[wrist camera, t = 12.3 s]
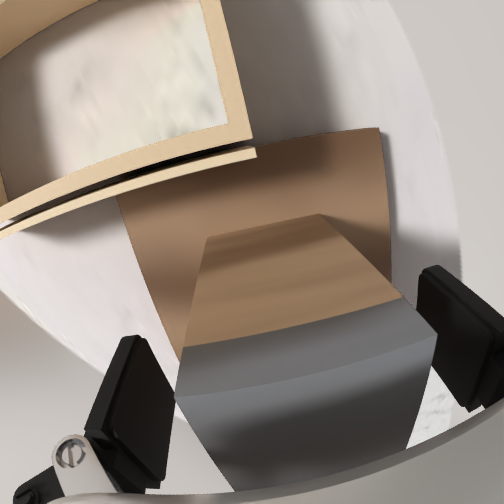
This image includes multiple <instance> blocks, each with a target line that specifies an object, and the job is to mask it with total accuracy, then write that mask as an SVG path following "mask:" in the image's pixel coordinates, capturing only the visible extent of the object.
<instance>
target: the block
mask: <svg viewBox="0 0 504 504" xmlns="http://www.w3.org/2000/svg"><path fill="white" fill-rule="evenodd" d="M437 335H438V334H437V333H436V332H435V331H434V329H433V328H432V327H431V326H430V325H429V324H428V323H427V322H426V321H425V319H424V318H423V317H422V316H421V315H420V314H419V313H418V312H417V311H416V310H415V309H414V307H413V306H412V305H411V304H410V303H409V302H408V301H407V300H406V299H405V298H404V297H403V296H402V295H401V294H400V293H399V292H398V291H397V289H396V288H395V287H394V286H393V285H392V284H391V283H390V282H389V281H388V280H387V279H386V278H385V277H384V276H383V275H382V274H381V273H380V272H379V271H378V270H377V269H376V268H375V267H374V266H373V265H372V264H371V263H370V262H369V261H368V260H367V259H366V258H365V257H364V256H363V255H362V254H361V253H360V252H359V251H358V250H357V249H356V248H355V247H354V246H353V245H352V244H351V243H350V242H348V241H347V240H346V239H345V238H344V237H343V236H342V235H341V234H340V233H339V232H338V231H337V230H336V229H335V228H334V227H333V226H332V225H330V224H329V223H328V222H327V221H326V220H325V219H324V218H323V217H322V216H321V215H320V214H314V215H309V216H304V217H299V218H294V219H289V220H285V221H280V222H275V223H270V224H266V225H261V226H256V227H251V228H247V229H242V230H238V231H233V232H228V233H224V234H219V235H215V236H210V237H207V239H206V243H205V248H204V252H203V256H202V260H201V265H200V269H199V274H198V278H197V282H196V287H195V292H194V296H193V301H192V306H191V310H190V315H189V320H188V325H187V330H186V335H185V340H184V345H183V350H182V355H181V360H180V366H179V371H178V376H177V382H176V388H175V393H174V399H175V401H176V402H177V404H178V406H179V407H180V409H181V411H182V413H183V414H184V416H185V418H186V419H187V421H188V423H189V424H190V426H191V427H192V429H193V431H194V432H195V434H196V435H197V437H198V439H199V440H200V442H201V443H202V445H203V446H204V448H205V450H206V451H207V453H208V454H209V456H210V457H211V459H212V460H213V461H214V463H215V464H216V466H217V467H218V469H219V470H220V472H221V473H222V474H223V476H224V477H225V479H226V480H227V481H228V483H229V484H230V485H231V487H232V488H233V489H234V491H235V492H239V491H248V490H256V489H263V488H270V487H276V486H282V485H287V484H292V483H297V482H302V481H307V480H311V479H316V478H320V477H324V476H328V475H332V474H335V473H339V472H342V471H346V470H349V469H353V468H356V467H359V466H362V465H365V464H368V463H371V462H374V461H377V460H380V459H382V458H385V457H388V456H390V455H393V454H396V453H398V452H401V451H403V450H405V449H406V447H407V444H408V441H409V439H410V436H411V433H412V430H413V427H414V424H415V421H416V418H417V415H418V412H419V409H420V405H421V402H422V399H423V395H424V391H425V388H426V384H427V380H428V376H429V372H430V368H431V364H432V359H433V355H434V350H435V345H436V340H437Z"/></svg>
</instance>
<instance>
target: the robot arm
mask: <svg viewBox="0 0 504 504" xmlns="http://www.w3.org/2000/svg"><path fill="white" fill-rule="evenodd" d="M416 311H417V312H418V313H419V314H420V315H421V316H422V317H423V318H424V319H425V321H426V322H427V323H428V324H429V325H430V326H431V327H432V328H433V329H434V331H435V332H436V333H437V334H438V335H437V340H436V345H435V350H434V355H433V359H432V364H431V365H432V367H433V368H434V370H435V371H436V372H437V374H438V375H439V376H440V378H441V379H442V381H443V382H444V383H445V385H446V386H447V388H448V389H449V391H450V392H451V393H452V395H453V396H454V398H455V399H456V401H457V402H458V403H459V405H460V406H461V407H465V408H466V409H467V411H468V412H469V413H470V412H471V411H473V410H475V409H477V408H478V407H480V406H481V404H482V405H483V407H484V408H485V410H483V411H482V412H480V413H478V414H476V415H475V416H473V417H471V418H469V419H468V420H466V421H464V422H462V423H460V424H458V425H457V426H455V427H453V428H451V429H449V430H447V431H445V432H443V433H441V434H439V435H437V436H435V437H433V438H431V439H429V440H426V441H424V442H422V443H420V444H417V445H415V446H413V447H410V448H408V449H406V450H403V451H401V452H398V453H396V454H393V455H390V456H388V457H385V458H382V459H380V460H377V461H374V462H371V463H368V464H365V465H362V466H359V467H356V468H353V469H349V470H346V471H342V472H339V473H335V474H332V475H328V476H324V477H320V478H316V479H311V480H307V481H302V482H297V483H292V484H287V485H282V486H276V487H270V488H263V489H256V490H248V491H239V492H229V493H216V494H192V495H191V494H190V495H154V494H152V495H151V494H145V490H146V488H150V489H160V483H161V481H163V480H164V479H165V476H166V467H167V459H168V451H169V444H170V436H171V430H172V423H173V416H174V409H175V403H176V401H175V399H174V391H173V389H172V387H171V386H170V384H169V382H168V380H167V378H166V376H165V375H164V373H163V371H162V369H161V367H160V365H159V363H158V361H157V359H156V357H155V356H154V354H153V352H152V350H151V348H150V346H149V344H148V342H147V340H146V339H145V338H141V336H140V335H132V336H125V337H122V339H121V341H120V343H119V345H118V347H117V349H116V352H115V354H114V356H113V358H112V361H111V363H110V365H109V368H108V370H107V372H106V375H105V377H104V379H103V382H102V384H101V387H100V389H99V392H98V394H97V397H96V399H95V402H94V404H93V407H92V409H91V412H90V414H89V417H88V420H87V422H86V425H85V428H84V430H85V431H86V432H85V434H84V437H83V436H81V435H76V434H75V435H69V436H67V437H65V438H63V439H62V440H61V441H59V442H58V444H57V445H56V446H55V448H54V450H53V453H52V463H53V466H51V467H49V468H48V469H46V470H45V471H43V472H41V473H40V474H39V475H37V476H35V477H34V478H32V479H30V480H29V481H27V482H25V483H24V484H22V485H21V486H19V487H18V488H17V490H16V491H15V494H14V497H13V504H504V317H503V316H501V315H500V314H499V313H498V312H497V311H496V310H495V309H493V308H492V307H491V306H490V305H489V304H488V303H486V302H485V301H484V300H483V299H481V298H480V297H479V296H478V295H477V294H475V293H474V292H473V291H472V290H471V289H469V288H468V287H467V286H465V285H464V284H463V283H462V282H461V281H459V280H458V279H457V278H455V277H454V276H453V275H452V274H450V273H449V272H448V271H446V270H445V269H444V268H442V267H441V266H439V265H435V266H431V267H428V268H425V269H424V270H423V271H422V274H420V275H419V280H418V296H417V308H416Z"/></svg>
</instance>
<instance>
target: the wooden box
mask: <svg viewBox="0 0 504 504" xmlns="http://www.w3.org/2000/svg"><path fill="white" fill-rule="evenodd" d="M96 1H99V0H0V59H1V58H2V57H3V56H5V55H6V54H7V53H9V52H10V51H12V50H13V49H14V48H16V47H17V46H19V45H20V44H22V43H23V42H24V41H26V40H27V39H29V38H31V37H32V36H34V35H35V34H37V33H38V32H40V31H42V30H43V29H45V28H47V27H48V26H50V25H52V24H53V23H55V22H57V21H59V20H61V19H62V18H64V17H66V16H68V15H70V14H72V13H74V12H76V11H78V10H80V9H82V8H84V7H86V6H88V5H90V4H92V3H94V2H96ZM200 3H201V8H202V12H203V16H204V20H205V25H206V29H207V33H208V37H209V41H210V46H211V50H212V54H213V59H214V63H215V67H216V71H217V76H218V80H219V84H220V89H221V93H222V97H223V102H224V106H225V110H226V115H227V119H228V124H224V125H220V126H216V127H211V128H207V129H203V130H199V131H196V132H192V133H188V134H184V135H181V136H177V137H174V138H170V139H167V140H164V141H160V142H157V143H154V144H150V145H147V146H144V147H141V148H138V149H135V150H132V151H129V152H126V153H123V154H120V155H118V156H115V157H112V158H109V159H107V160H104V161H101V162H99V163H96V164H93V165H91V166H88V167H86V168H83V169H81V170H78V171H76V172H73V173H71V174H69V175H66V176H64V177H62V178H59V179H57V180H55V181H52V182H50V183H48V184H46V185H44V186H42V187H39V188H37V189H35V190H33V191H31V192H29V193H27V194H25V195H23V196H21V197H19V198H17V199H15V200H13V201H11V202H9V203H8V199H7V196H6V192H5V188H4V184H3V180H2V176H1V172H0V223H2V222H4V221H6V220H8V219H11V218H13V217H15V216H17V215H19V214H21V213H23V212H25V211H28V210H30V209H32V208H34V207H37V206H39V205H41V204H44V203H46V202H48V201H51V200H53V199H55V198H58V197H60V196H63V195H65V194H68V193H70V192H73V191H75V190H78V189H80V188H83V187H86V186H88V185H91V184H94V183H96V182H99V181H102V180H105V179H108V178H111V177H113V176H116V175H119V174H122V173H125V172H128V171H131V170H134V169H138V168H141V167H144V166H147V165H150V164H154V163H157V162H160V161H164V160H167V159H171V158H174V157H178V156H181V155H185V154H189V153H193V152H196V151H200V150H204V149H208V148H212V147H216V146H220V145H225V144H229V143H233V142H238V141H243V140H247V139H252V138H253V137H252V132H251V128H250V123H249V119H248V114H247V110H246V106H245V101H244V97H243V93H242V88H241V84H240V80H239V76H238V71H237V67H236V63H235V59H234V55H233V51H232V47H231V43H230V38H229V34H228V30H227V26H226V22H225V18H224V15H223V11H222V7H221V3H220V0H200ZM256 157H257V156H256V151H255V148H254V147H251V146H248V145H247V146H243V147H238V148H234V149H229V150H225V151H221V152H217V153H213V154H208V155H204V156H201V157H197V158H193V159H189V160H185V161H182V162H178V163H174V164H171V165H167V166H164V167H160V168H157V169H154V170H150V171H147V172H144V173H141V174H137V175H134V176H131V177H128V178H125V179H122V180H119V181H116V182H113V183H110V184H107V185H104V186H101V187H99V188H96V189H93V190H90V191H88V192H85V193H82V194H79V195H77V196H74V197H72V198H69V199H66V200H64V201H61V202H59V203H56V204H54V205H52V206H49V207H47V208H44V209H42V210H40V211H37V212H35V213H33V214H30V215H28V216H26V217H24V218H21V219H19V220H17V221H15V222H13V223H10V224H8V225H6V226H4V227H2V228H0V239H2V238H4V237H7V236H9V235H11V234H13V233H16V232H18V231H20V230H23V229H25V228H27V227H30V226H32V225H35V224H37V223H40V222H42V221H45V220H47V219H50V218H52V217H55V216H57V215H60V214H63V213H65V212H68V211H71V210H74V209H76V208H79V207H82V206H85V205H87V204H90V203H93V202H96V201H99V200H102V199H105V198H108V197H111V196H114V195H117V194H120V193H123V192H126V191H130V190H133V189H136V188H139V187H143V186H146V185H149V184H153V183H156V182H160V181H163V180H167V179H170V178H174V177H177V176H181V175H185V174H189V173H192V172H196V171H200V170H204V169H208V168H212V167H216V166H221V165H225V164H229V163H233V162H238V161H242V160H247V159H252V158H256Z"/></svg>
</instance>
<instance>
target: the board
mask: <svg viewBox="0 0 504 504" xmlns="http://www.w3.org/2000/svg"><path fill="white" fill-rule="evenodd" d="M252 147H254V148H255V151H256V156H257V157H256V158H252V159H247V160H242V161H238V162H233V163H229V164H225V165H221V166H216V167H212V168H208V169H204V170H200V171H196V172H192V173H189V174H185V175H181V176H177V177H174V178H170V179H167V180H163V181H160V182H156V183H153V184H149V185H146V186H143V187H139V188H136V189H133V190H130V191H126V192H123V193H120V194H117V195H116V197H117V201H118V204H119V207H120V210H121V214H122V217H123V220H124V223H125V226H126V229H127V232H128V235H129V238H130V241H131V244H132V247H133V250H134V253H135V256H136V258H137V261H138V264H139V267H140V269H141V272H142V275H143V277H144V280H145V283H146V285H147V288H148V290H149V293H150V295H151V298H152V300H153V303H154V305H155V308H156V310H157V313H158V315H159V317H160V320H161V322H162V324H163V327H164V329H165V331H166V334H167V336H168V338H169V340H170V343H171V345H172V347H173V349H174V351H175V354H176V356H177V358H178V360H179V362H180V360H181V355H182V350H183V345H184V340H185V335H186V330H187V325H188V320H189V315H190V310H191V306H192V301H193V296H194V292H195V287H196V282H197V278H198V274H199V269H200V265H201V260H202V256H203V252H204V248H205V243H206V239H207V237H210V236H215V235H219V234H224V233H228V232H233V231H238V230H242V229H247V228H251V227H256V226H261V225H266V224H270V223H275V222H280V221H285V220H289V219H294V218H299V217H304V216H309V215H314V214H320V215H321V216H322V217H323V218H324V219H325V220H326V221H327V222H328V223H329V224H330V225H332V226H333V227H334V228H335V229H336V230H337V231H338V232H339V233H340V234H341V235H342V236H343V237H344V238H345V239H346V240H347V241H348V242H350V243H351V244H352V245H353V246H354V247H355V248H356V249H357V250H358V251H359V252H360V253H361V254H362V255H363V256H364V257H365V258H366V259H367V260H368V261H369V262H370V263H371V264H372V265H373V266H374V267H375V268H376V269H377V270H378V271H379V272H380V273H381V274H382V275H383V276H384V277H385V278H386V279H387V280H388V281H389V282H390V283H391V238H390V220H389V206H388V194H387V184H386V174H385V166H384V158H383V151H382V144H381V137H380V131H379V128H363V129H354V130H346V131H339V132H332V133H325V134H318V135H312V136H305V137H299V138H294V139H288V140H283V141H277V142H272V143H267V144H262V145H257V146H252Z"/></svg>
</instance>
